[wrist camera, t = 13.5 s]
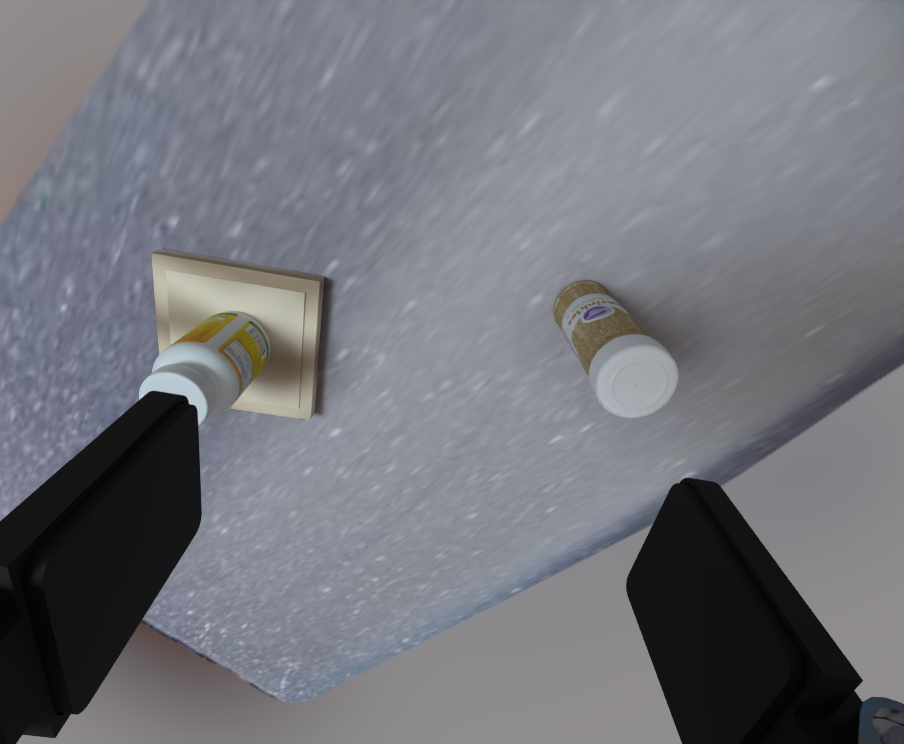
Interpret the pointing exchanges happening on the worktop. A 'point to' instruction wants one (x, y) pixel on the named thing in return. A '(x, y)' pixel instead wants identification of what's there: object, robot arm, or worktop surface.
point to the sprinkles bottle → (615, 352)
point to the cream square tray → (260, 297)
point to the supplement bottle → (212, 363)
